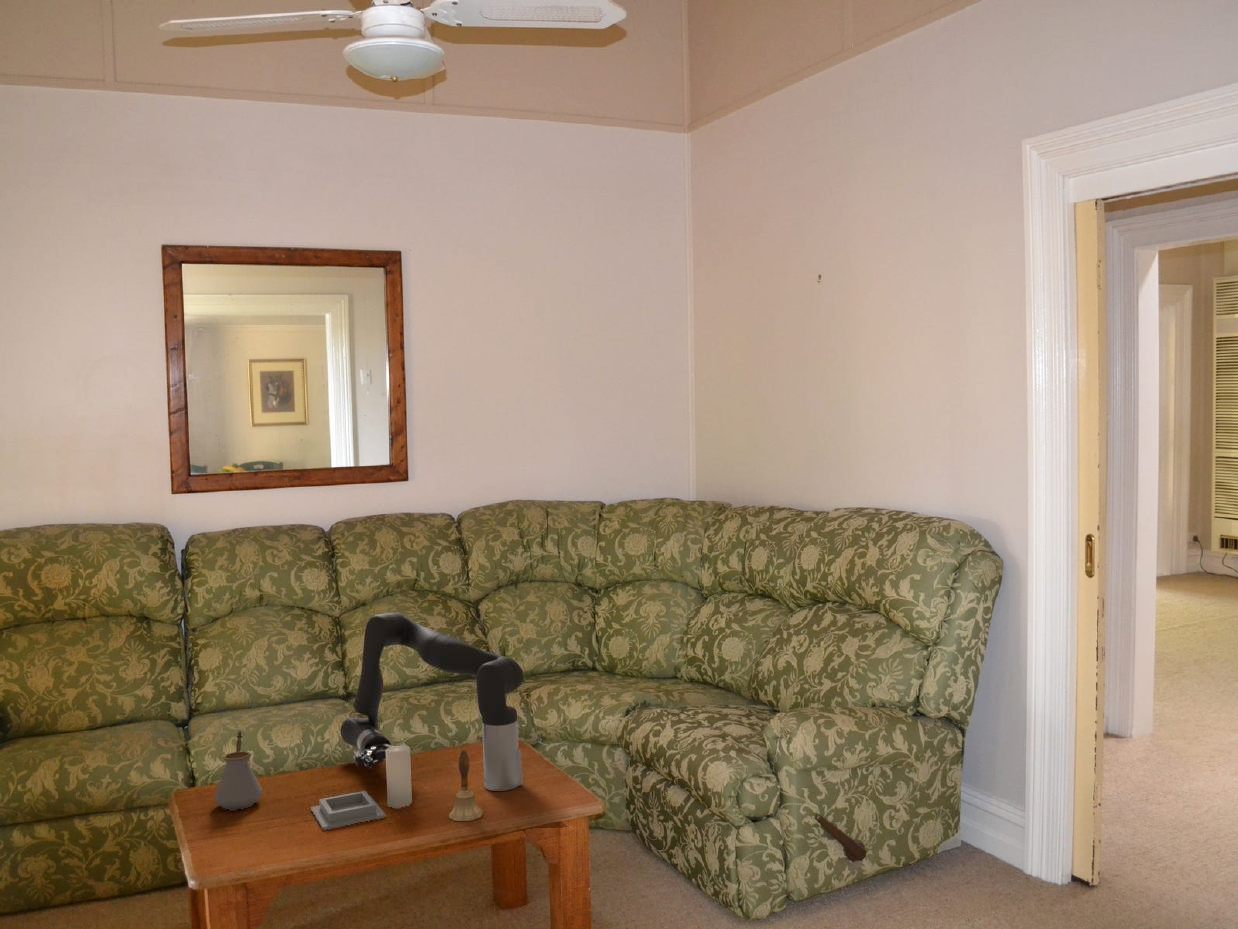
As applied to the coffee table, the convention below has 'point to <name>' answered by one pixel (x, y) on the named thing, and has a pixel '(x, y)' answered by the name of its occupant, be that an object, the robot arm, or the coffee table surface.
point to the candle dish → (346, 810)
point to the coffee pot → (237, 781)
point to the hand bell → (465, 795)
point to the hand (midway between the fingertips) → (388, 762)
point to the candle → (398, 776)
